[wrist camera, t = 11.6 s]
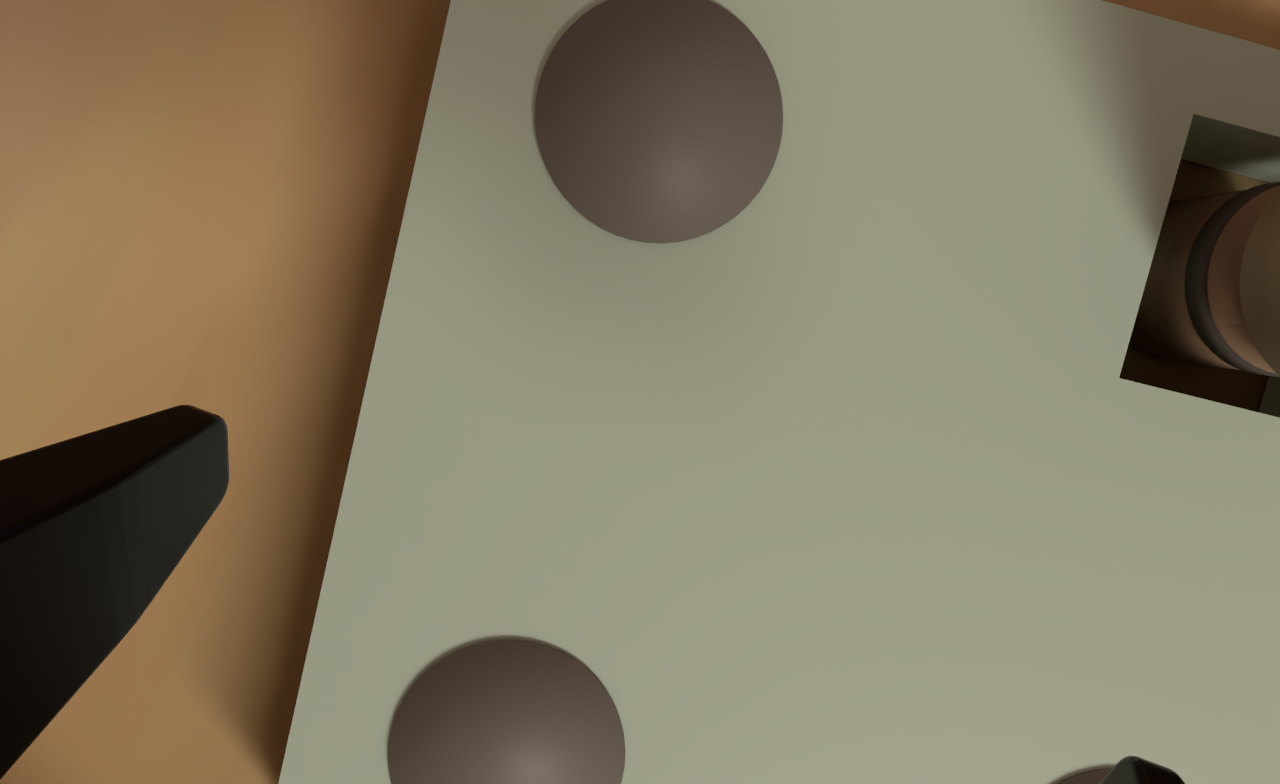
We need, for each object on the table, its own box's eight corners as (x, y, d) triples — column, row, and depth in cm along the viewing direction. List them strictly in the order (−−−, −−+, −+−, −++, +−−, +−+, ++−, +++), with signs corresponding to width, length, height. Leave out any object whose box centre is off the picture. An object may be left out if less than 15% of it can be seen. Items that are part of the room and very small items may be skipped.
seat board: (1151, 992, 23) (1239, 1099, 20) (295, 827, 22) (248, 915, 18) (1404, 145, 22) (1541, 120, 18) (501, -101, 20) (488, -175, 17)
